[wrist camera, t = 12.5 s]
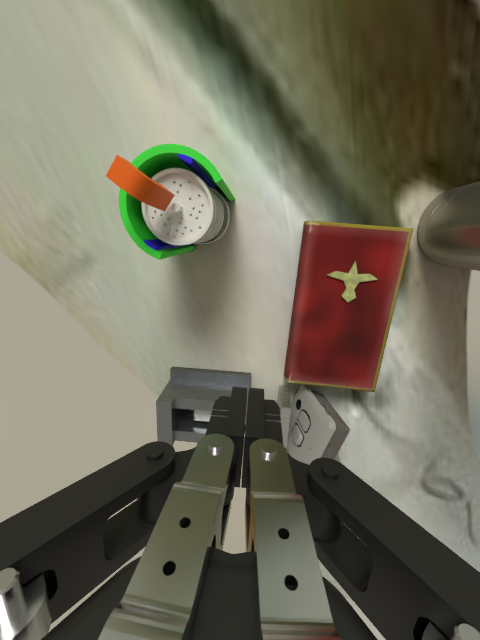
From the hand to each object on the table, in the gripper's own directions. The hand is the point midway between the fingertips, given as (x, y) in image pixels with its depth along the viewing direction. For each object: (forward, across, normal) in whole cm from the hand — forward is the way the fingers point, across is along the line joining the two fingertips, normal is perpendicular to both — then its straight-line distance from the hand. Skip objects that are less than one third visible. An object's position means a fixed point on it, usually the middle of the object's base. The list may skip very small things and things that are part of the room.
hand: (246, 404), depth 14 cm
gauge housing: (+27, +6, +17) cm, 32 cm away
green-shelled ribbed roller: (+27, +8, -10) cm, 30 cm away
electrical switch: (+27, -9, +18) cm, 34 cm away
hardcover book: (+28, -11, +1) cm, 30 cm away
